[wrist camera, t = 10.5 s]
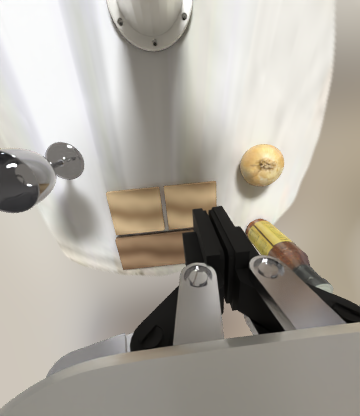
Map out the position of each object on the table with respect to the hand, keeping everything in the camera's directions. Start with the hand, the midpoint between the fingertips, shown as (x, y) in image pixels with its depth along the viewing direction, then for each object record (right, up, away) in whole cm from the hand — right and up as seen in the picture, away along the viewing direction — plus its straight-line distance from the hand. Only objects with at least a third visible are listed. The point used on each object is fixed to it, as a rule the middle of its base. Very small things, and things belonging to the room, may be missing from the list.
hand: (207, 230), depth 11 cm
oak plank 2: (+1, +2, +31) cm, 31 cm away
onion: (+14, +11, +28) cm, 33 cm away
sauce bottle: (+17, -4, +35) cm, 39 cm away
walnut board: (-4, -8, +35) cm, 36 cm away
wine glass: (-24, +10, +26) cm, 37 cm away
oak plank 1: (-11, +1, +31) cm, 33 cm away
